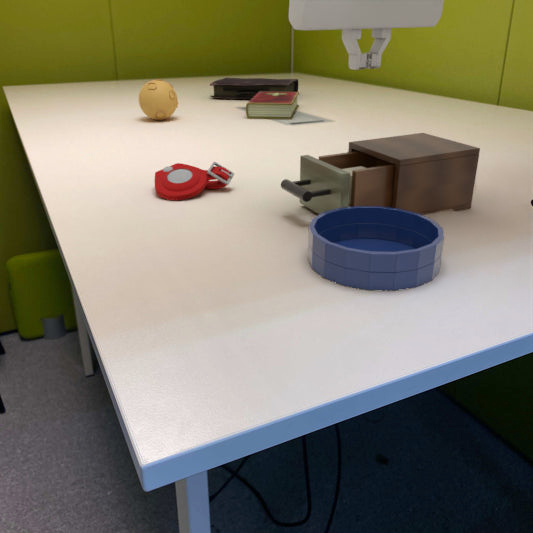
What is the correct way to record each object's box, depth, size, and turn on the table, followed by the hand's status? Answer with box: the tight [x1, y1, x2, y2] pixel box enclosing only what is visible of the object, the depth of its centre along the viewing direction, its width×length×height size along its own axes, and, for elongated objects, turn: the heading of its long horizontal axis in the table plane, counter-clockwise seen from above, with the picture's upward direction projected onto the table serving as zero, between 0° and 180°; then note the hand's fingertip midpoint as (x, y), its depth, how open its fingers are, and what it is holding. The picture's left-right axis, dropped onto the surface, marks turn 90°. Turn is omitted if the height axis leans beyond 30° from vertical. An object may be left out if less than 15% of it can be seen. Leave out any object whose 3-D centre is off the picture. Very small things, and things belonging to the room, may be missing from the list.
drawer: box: [280, 151, 396, 215], centre depth 74 cm, size 17×10×7 cm, turn 116°
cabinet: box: [347, 132, 481, 216], centre depth 78 cm, size 14×12×9 cm
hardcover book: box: [245, 91, 300, 120], centre depth 151 cm, size 12×21×4 cm, turn 172°
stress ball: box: [138, 78, 179, 121], centre depth 140 cm, size 10×10×10 cm
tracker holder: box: [154, 161, 235, 201], centre depth 87 cm, size 12×4×10 cm
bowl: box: [307, 206, 445, 292], centre depth 60 cm, size 14×14×4 cm
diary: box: [209, 77, 299, 100], centre depth 177 cm, size 19×25×5 cm
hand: (364, 68), depth 68 cm, fingers closed
